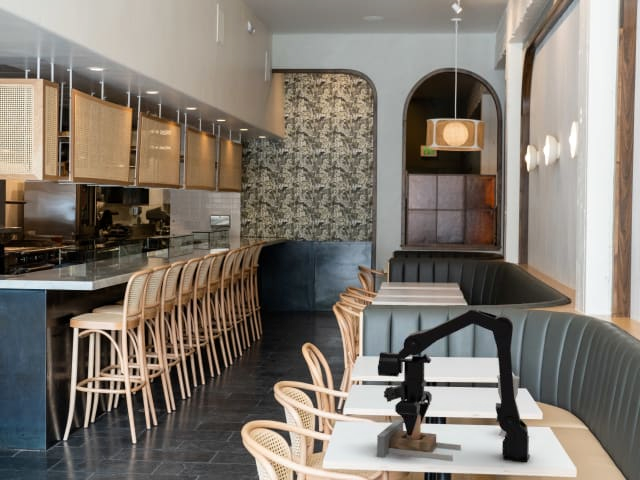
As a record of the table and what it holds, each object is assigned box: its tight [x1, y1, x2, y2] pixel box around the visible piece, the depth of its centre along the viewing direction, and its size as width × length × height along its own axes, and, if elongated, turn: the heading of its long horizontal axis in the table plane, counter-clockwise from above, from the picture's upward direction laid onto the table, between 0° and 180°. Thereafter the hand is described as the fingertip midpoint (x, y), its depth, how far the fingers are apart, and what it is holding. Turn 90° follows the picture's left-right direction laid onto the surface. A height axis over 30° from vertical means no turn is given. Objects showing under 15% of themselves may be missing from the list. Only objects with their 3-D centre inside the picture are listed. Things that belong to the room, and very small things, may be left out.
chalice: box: [496, 374, 520, 438], centre depth 249 cm, size 7×7×18 cm
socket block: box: [390, 430, 437, 453], centre depth 232 cm, size 11×10×4 cm
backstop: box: [376, 419, 462, 462], centre depth 231 cm, size 20×20×6 cm
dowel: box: [405, 415, 422, 440], centre depth 232 cm, size 4×4×9 cm
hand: (413, 431), depth 232 cm, fingers open, 9 cm apart
